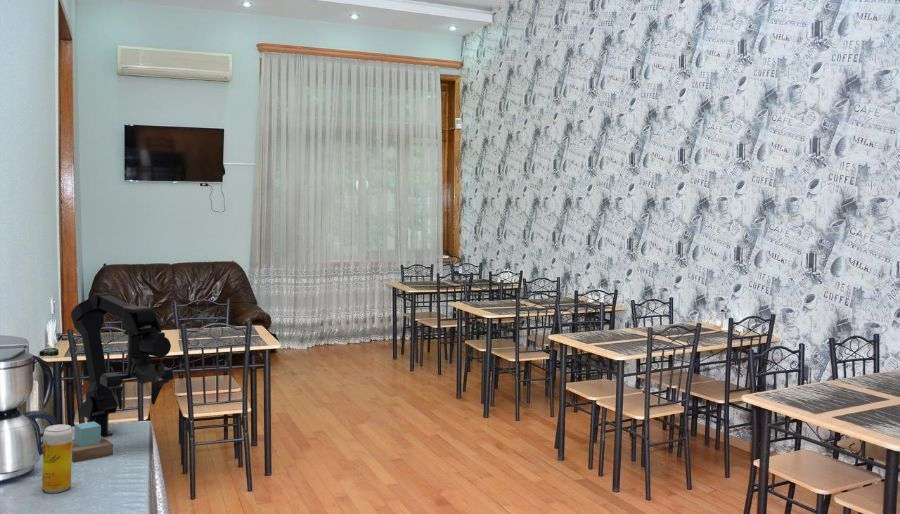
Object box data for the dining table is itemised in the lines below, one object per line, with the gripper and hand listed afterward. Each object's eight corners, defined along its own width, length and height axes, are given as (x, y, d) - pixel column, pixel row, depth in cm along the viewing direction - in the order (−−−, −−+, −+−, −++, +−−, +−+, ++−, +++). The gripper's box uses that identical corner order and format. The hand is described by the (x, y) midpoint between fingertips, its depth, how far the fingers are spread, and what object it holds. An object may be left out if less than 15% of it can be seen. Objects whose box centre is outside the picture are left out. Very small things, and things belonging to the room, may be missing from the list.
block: (74, 442, 195) (74, 424, 195) (93, 438, 199) (94, 421, 198) (80, 447, 192) (81, 428, 191) (100, 443, 195) (100, 425, 195)
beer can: (38, 488, 170) (39, 426, 170) (65, 482, 175) (67, 422, 174) (47, 495, 166) (48, 433, 166) (74, 489, 171) (76, 428, 170)
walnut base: (61, 452, 195) (61, 441, 195) (99, 445, 202) (99, 435, 202) (73, 462, 188) (74, 451, 188) (112, 455, 195) (113, 444, 195)
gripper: (115, 360, 188) (113, 418, 189) (183, 353, 201) (181, 408, 202) (99, 353, 196) (98, 409, 197) (166, 347, 209) (164, 399, 210)
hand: (136, 406), depth 201 cm, fingers open, 9 cm apart
